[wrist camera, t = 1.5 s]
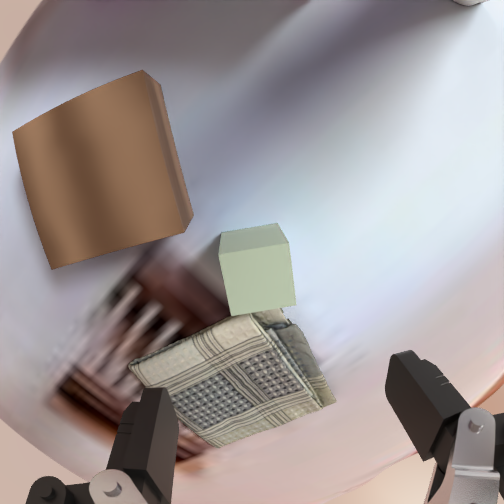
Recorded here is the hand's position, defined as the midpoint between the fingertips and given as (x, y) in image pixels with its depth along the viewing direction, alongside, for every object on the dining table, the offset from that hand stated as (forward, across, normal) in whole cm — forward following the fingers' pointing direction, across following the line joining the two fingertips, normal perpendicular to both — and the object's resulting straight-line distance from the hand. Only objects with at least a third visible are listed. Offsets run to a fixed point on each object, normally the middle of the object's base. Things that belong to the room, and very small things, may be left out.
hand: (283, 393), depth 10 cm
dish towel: (+20, +3, +16) cm, 26 cm away
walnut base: (+19, +11, -8) cm, 24 cm away
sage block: (+19, 0, +1) cm, 19 cm away
